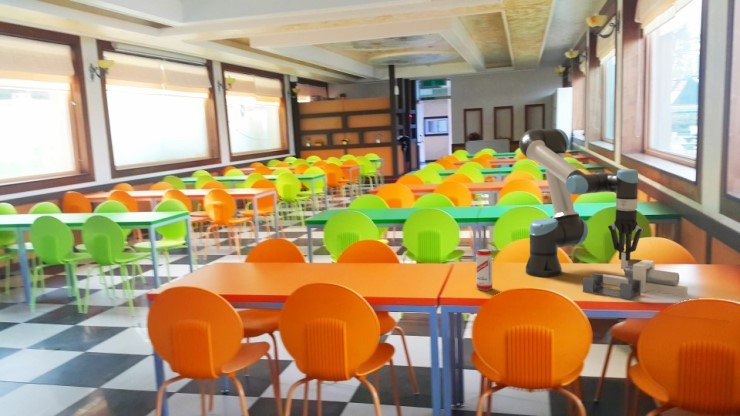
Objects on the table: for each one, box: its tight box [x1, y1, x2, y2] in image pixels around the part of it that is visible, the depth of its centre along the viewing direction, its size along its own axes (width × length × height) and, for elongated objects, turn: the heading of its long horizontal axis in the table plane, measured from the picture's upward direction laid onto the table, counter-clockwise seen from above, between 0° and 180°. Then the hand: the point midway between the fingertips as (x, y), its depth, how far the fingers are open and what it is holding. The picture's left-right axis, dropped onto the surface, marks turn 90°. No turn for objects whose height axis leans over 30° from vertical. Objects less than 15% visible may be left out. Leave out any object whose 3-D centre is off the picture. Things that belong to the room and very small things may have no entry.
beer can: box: [475, 248, 493, 291], centre depth 224 cm, size 6×6×16 cm
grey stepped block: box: [603, 259, 689, 297], centre depth 216 cm, size 31×11×10 cm, turn 44°
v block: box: [582, 272, 641, 301], centre depth 212 cm, size 18×9×6 cm, turn 44°
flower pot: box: [622, 258, 643, 273], centre depth 231 cm, size 10×10×7 cm
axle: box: [624, 266, 680, 286], centre depth 214 cm, size 18×5×5 cm, turn 44°
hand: (624, 268), depth 221 cm, fingers closed
